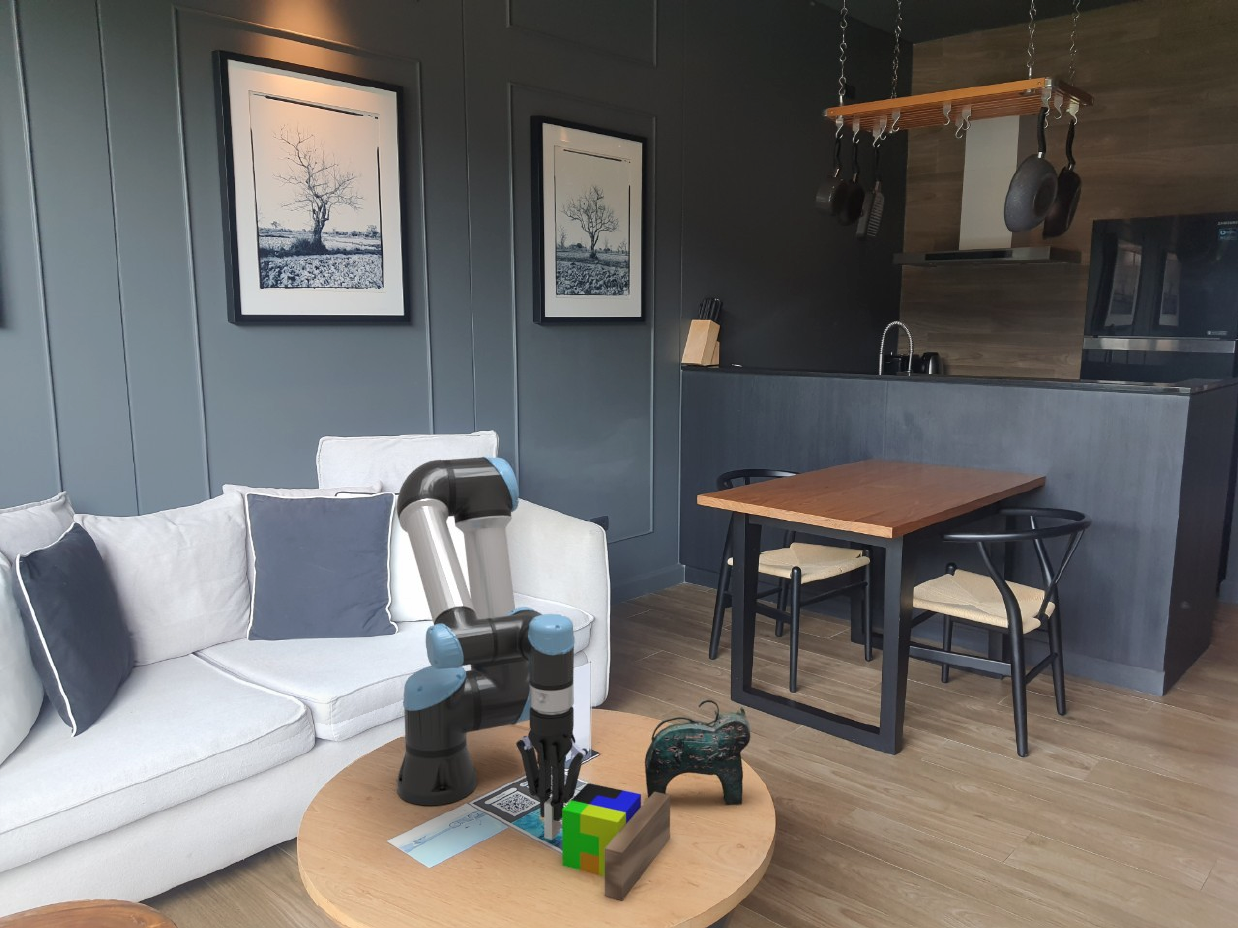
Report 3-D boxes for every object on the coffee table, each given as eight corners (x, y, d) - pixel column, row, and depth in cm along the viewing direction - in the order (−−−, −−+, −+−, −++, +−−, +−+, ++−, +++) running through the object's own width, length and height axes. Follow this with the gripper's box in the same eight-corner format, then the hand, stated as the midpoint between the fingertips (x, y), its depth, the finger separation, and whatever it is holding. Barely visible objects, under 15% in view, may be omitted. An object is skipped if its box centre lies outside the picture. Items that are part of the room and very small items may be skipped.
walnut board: (604, 895, 145) (604, 848, 143) (654, 834, 163) (654, 791, 161) (622, 900, 143) (622, 852, 142) (669, 837, 161) (670, 794, 160)
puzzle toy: (640, 848, 158) (641, 793, 157) (617, 879, 149) (617, 822, 148) (588, 836, 162) (588, 782, 161) (562, 865, 153) (562, 809, 152)
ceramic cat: (746, 792, 177) (748, 693, 175) (752, 810, 171) (755, 707, 168) (643, 794, 177) (644, 694, 174) (646, 811, 170) (646, 708, 168)
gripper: (507, 707, 156) (508, 837, 159) (575, 721, 151) (575, 855, 154) (529, 692, 163) (529, 816, 166) (595, 704, 157) (594, 832, 161)
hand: (551, 834), depth 160 cm, fingers closed
